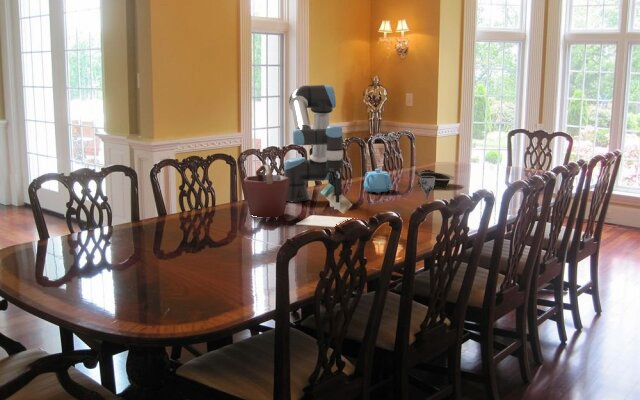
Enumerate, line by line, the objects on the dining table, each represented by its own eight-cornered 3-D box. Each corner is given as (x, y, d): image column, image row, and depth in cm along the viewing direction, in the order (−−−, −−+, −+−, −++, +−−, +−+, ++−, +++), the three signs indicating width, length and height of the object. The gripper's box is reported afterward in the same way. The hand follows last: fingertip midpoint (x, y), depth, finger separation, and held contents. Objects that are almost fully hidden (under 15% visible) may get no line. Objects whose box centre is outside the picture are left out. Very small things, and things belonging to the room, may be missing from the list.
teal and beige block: (344, 214, 322) (323, 194, 318) (340, 211, 328) (320, 192, 323) (352, 204, 323) (332, 185, 318) (348, 202, 328) (328, 183, 324)
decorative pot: (364, 189, 411) (364, 166, 409) (391, 189, 409) (391, 166, 407) (363, 194, 395) (363, 171, 393) (391, 194, 393) (391, 171, 391)
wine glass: (434, 206, 356) (434, 178, 354) (418, 206, 358) (419, 178, 355) (434, 204, 364) (435, 176, 361) (419, 203, 366) (420, 175, 363)
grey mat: (296, 224, 319) (296, 223, 319) (311, 215, 338) (311, 215, 338) (344, 228, 311) (344, 227, 311) (358, 219, 329) (358, 218, 329)
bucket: (248, 210, 354) (246, 162, 349) (290, 209, 354) (290, 161, 349) (243, 220, 330) (241, 169, 325) (289, 219, 330) (288, 168, 325)
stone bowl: (407, 183, 427) (408, 169, 426) (444, 184, 434) (445, 170, 432) (422, 189, 404) (424, 174, 402) (461, 190, 410) (463, 175, 409)
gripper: (348, 161, 311) (348, 211, 316) (336, 156, 329) (336, 203, 334) (332, 162, 309) (333, 212, 314) (321, 157, 327) (321, 204, 332)
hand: (334, 207), depth 324 cm, fingers closed on teal and beige block, 6 cm apart
